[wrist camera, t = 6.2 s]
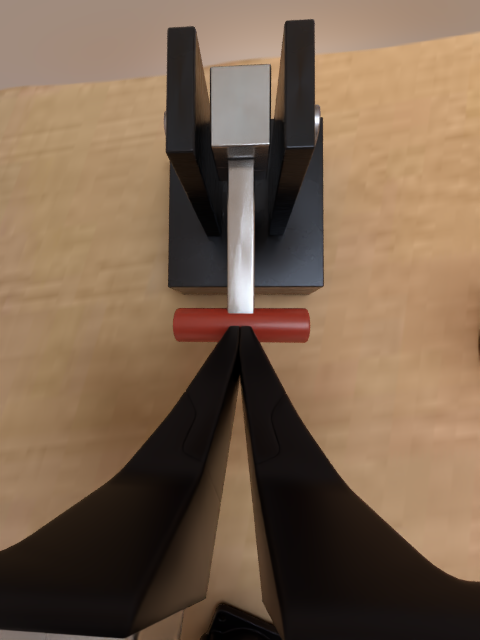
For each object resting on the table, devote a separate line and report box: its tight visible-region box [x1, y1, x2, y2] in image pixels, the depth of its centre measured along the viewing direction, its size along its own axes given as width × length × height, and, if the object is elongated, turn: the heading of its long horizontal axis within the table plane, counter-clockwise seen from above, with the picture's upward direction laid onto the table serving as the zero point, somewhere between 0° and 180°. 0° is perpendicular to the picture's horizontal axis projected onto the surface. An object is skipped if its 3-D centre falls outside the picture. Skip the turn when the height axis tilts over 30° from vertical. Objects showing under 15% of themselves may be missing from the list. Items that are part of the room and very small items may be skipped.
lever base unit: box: [164, 19, 324, 294], centre depth 13 cm, size 11×10×11 cm
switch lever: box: [173, 64, 310, 343], centre depth 10 cm, size 10×6×2 cm, turn 0°
